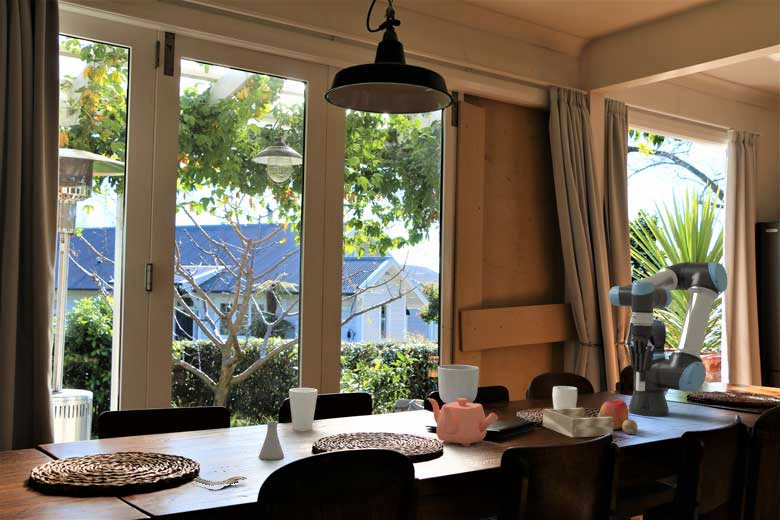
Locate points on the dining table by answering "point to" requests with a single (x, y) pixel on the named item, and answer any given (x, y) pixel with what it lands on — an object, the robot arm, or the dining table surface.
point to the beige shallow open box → (576, 422)
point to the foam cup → (302, 407)
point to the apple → (615, 412)
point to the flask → (271, 443)
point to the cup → (564, 397)
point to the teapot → (461, 422)
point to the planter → (457, 382)
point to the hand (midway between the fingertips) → (640, 390)
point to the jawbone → (228, 481)
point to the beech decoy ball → (629, 426)
